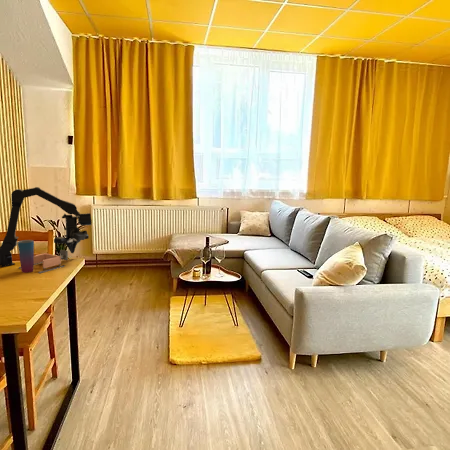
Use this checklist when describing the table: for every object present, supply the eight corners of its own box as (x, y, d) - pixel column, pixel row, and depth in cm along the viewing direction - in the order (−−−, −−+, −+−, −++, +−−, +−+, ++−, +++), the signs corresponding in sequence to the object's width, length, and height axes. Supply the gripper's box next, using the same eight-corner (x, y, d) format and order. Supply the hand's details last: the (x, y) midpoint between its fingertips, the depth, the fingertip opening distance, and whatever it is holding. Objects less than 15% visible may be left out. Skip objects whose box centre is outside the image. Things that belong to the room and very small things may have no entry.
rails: (18, 268, 167) (18, 267, 167) (44, 261, 180) (44, 260, 180) (39, 273, 161) (39, 272, 160) (64, 266, 173) (64, 265, 173)
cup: (38, 269, 166) (37, 240, 164) (29, 273, 160) (27, 243, 157) (25, 268, 167) (24, 239, 165) (16, 272, 160) (14, 242, 158)
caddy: (57, 258, 185) (57, 248, 184) (72, 262, 180) (72, 251, 179) (28, 266, 170) (28, 255, 169) (44, 269, 165) (44, 258, 164)
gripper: (67, 229, 172) (68, 259, 174) (95, 225, 189) (95, 251, 191) (52, 227, 177) (53, 255, 179) (81, 223, 193) (82, 249, 196)
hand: (72, 253), depth 186 cm, fingers closed
